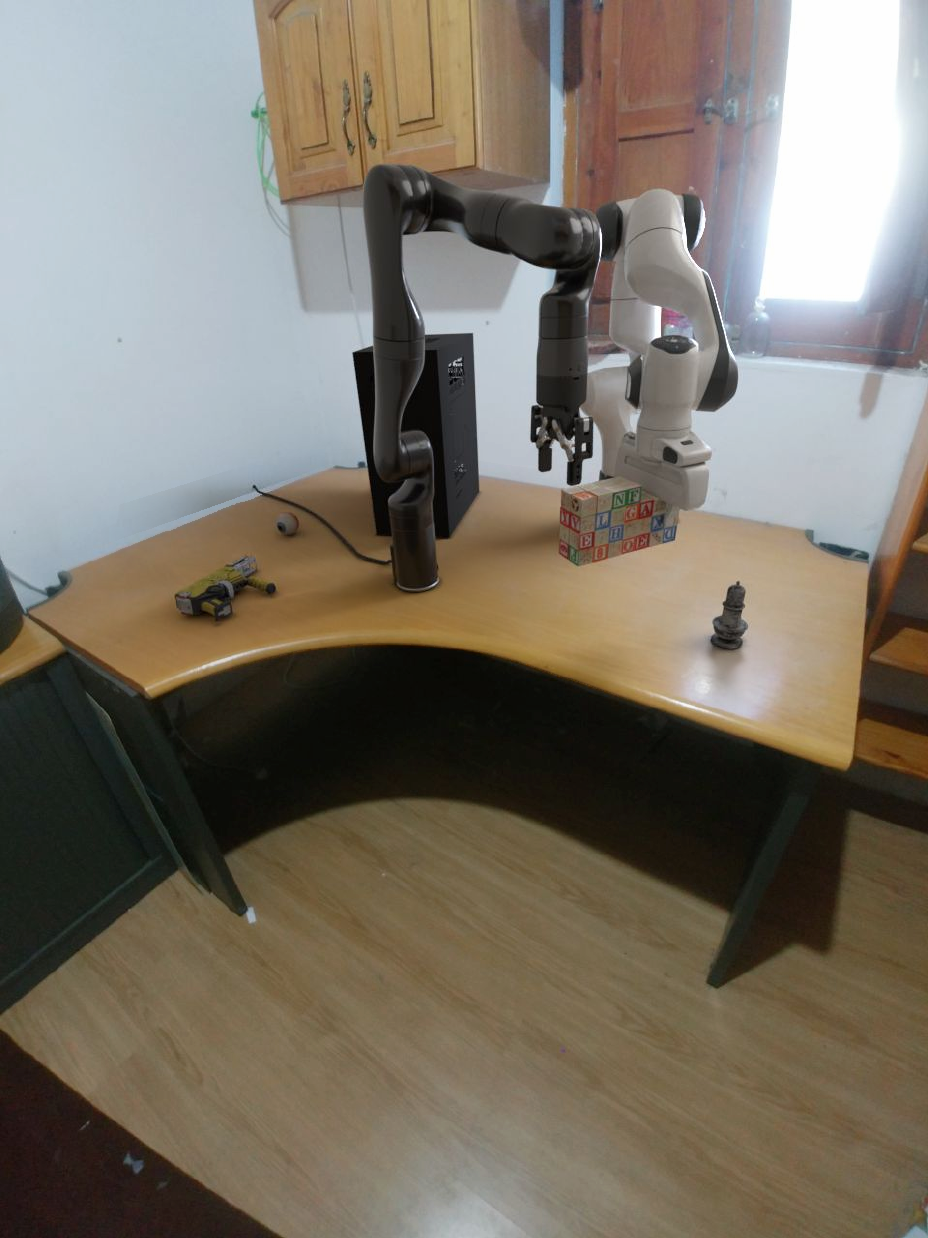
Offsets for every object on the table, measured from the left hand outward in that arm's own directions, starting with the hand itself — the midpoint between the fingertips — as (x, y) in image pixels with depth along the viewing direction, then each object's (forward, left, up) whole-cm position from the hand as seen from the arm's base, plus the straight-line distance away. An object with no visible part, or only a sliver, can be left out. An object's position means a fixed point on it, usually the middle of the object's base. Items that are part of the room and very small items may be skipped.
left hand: (558, 477), depth 97 cm
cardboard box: (-63, +43, -30) cm, 82 cm away
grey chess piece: (+27, +15, -30) cm, 43 cm away
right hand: (+10, +18, -11) cm, 23 cm away
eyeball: (-87, +11, -30) cm, 93 cm away
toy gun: (-68, -20, -30) cm, 77 cm away
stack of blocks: (+6, +12, -15) cm, 20 cm away
